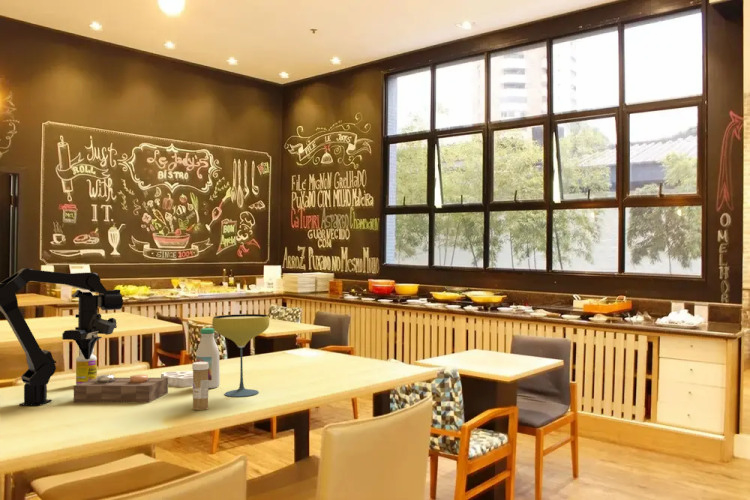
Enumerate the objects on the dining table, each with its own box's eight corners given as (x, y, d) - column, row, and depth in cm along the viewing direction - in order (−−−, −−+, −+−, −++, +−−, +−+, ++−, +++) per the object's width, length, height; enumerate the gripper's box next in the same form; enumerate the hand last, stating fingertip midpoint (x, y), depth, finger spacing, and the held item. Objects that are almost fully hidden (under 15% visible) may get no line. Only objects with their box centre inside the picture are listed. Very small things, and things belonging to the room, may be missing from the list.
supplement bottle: (88, 387, 213) (88, 350, 213) (71, 386, 214) (71, 349, 214) (100, 383, 219) (100, 347, 220) (84, 383, 221) (84, 347, 221)
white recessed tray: (214, 383, 219) (176, 390, 208) (188, 377, 231) (151, 383, 220) (213, 374, 219) (176, 380, 208) (188, 368, 231) (151, 374, 220)
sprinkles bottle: (189, 409, 178) (189, 362, 178) (203, 406, 181) (202, 360, 182) (198, 411, 175) (198, 364, 175) (212, 408, 178) (211, 362, 179)
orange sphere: (143, 394, 192) (143, 377, 192) (127, 394, 192) (127, 377, 193) (150, 391, 197) (150, 374, 197) (134, 391, 198) (134, 374, 198)
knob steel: (109, 394, 193) (109, 377, 193) (93, 394, 193) (93, 377, 193) (117, 391, 198) (117, 374, 198) (101, 391, 198) (101, 374, 199)
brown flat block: (149, 402, 187) (149, 386, 188) (73, 402, 189) (73, 386, 189) (167, 392, 201) (167, 377, 202) (97, 392, 203) (97, 377, 203)
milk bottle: (210, 383, 216) (210, 326, 217) (224, 386, 211) (223, 328, 212) (191, 387, 210) (191, 328, 211) (205, 390, 205) (204, 330, 206)
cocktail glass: (210, 390, 204) (209, 315, 205) (264, 386, 210) (263, 313, 211) (216, 401, 187) (215, 319, 188) (275, 396, 193) (274, 317, 194)
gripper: (95, 313, 189) (94, 363, 189) (126, 309, 208) (125, 355, 207) (61, 312, 191) (60, 363, 190) (95, 309, 209) (94, 355, 209)
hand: (87, 359), depth 199 cm, fingers closed
